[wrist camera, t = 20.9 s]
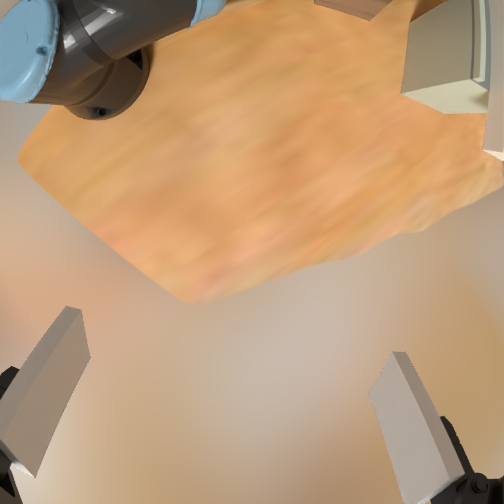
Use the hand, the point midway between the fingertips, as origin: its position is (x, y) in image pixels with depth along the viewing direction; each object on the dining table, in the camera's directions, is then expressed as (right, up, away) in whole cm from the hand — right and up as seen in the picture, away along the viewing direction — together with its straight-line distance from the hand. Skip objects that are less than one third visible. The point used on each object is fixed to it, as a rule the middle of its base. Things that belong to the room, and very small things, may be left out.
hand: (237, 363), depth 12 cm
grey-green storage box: (+29, +34, +25) cm, 52 cm away
